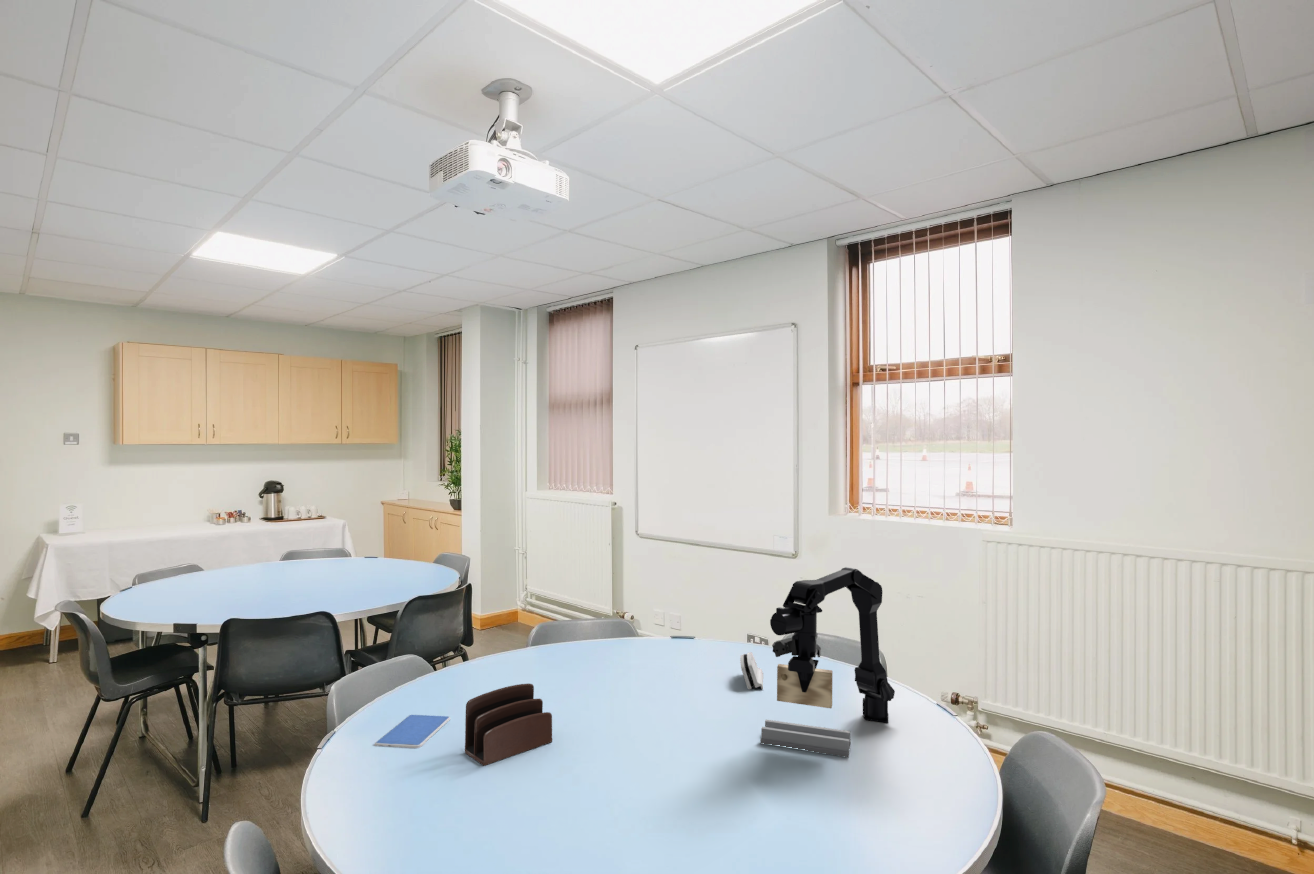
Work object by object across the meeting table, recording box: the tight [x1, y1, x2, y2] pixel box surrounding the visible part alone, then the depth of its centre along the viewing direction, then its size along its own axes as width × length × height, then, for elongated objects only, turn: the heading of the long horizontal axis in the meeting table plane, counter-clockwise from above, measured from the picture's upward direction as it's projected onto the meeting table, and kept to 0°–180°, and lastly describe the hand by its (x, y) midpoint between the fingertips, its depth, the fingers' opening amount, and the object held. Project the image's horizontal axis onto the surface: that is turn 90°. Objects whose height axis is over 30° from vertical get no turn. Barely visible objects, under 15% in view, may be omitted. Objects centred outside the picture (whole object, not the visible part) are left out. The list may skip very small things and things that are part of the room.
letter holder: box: [464, 683, 553, 767], centre depth 167 cm, size 10×20×14 cm, turn 134°
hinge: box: [739, 651, 764, 690], centre depth 219 cm, size 17×5×10 cm, turn 171°
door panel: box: [776, 663, 833, 709], centre depth 171 cm, size 14×3×9 cm, turn 70°
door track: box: [760, 719, 852, 758], centre depth 170 cm, size 22×9×4 cm, turn 70°
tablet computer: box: [374, 714, 451, 749], centre depth 176 cm, size 19×13×1 cm, turn 174°
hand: (804, 690), depth 171 cm, fingers closed on door panel, 2 cm apart
